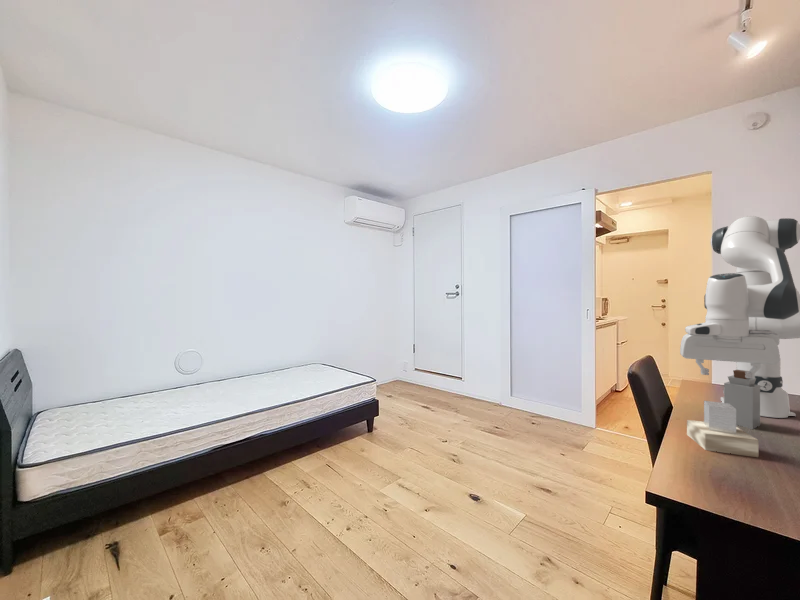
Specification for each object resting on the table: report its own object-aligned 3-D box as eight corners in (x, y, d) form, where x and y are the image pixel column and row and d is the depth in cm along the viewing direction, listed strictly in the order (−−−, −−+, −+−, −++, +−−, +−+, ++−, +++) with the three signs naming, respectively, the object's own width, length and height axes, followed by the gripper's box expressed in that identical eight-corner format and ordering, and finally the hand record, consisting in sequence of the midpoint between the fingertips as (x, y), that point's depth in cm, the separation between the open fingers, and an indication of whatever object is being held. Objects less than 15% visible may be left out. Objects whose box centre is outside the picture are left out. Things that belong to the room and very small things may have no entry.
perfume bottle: (752, 429, 103) (752, 374, 103) (724, 422, 109) (724, 370, 109) (760, 425, 106) (759, 371, 106) (732, 418, 112) (731, 368, 112)
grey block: (704, 423, 95) (704, 400, 95) (729, 427, 92) (729, 403, 92) (709, 429, 91) (709, 405, 91) (736, 434, 88) (736, 409, 88)
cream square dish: (686, 435, 98) (686, 419, 98) (733, 441, 94) (733, 425, 94) (705, 451, 88) (705, 433, 88) (758, 458, 84) (758, 439, 84)
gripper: (773, 329, 89) (774, 378, 89) (678, 326, 100) (678, 370, 100) (785, 331, 84) (785, 383, 84) (683, 328, 94) (683, 374, 94)
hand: (726, 376), depth 92 cm, fingers open, 8 cm apart
